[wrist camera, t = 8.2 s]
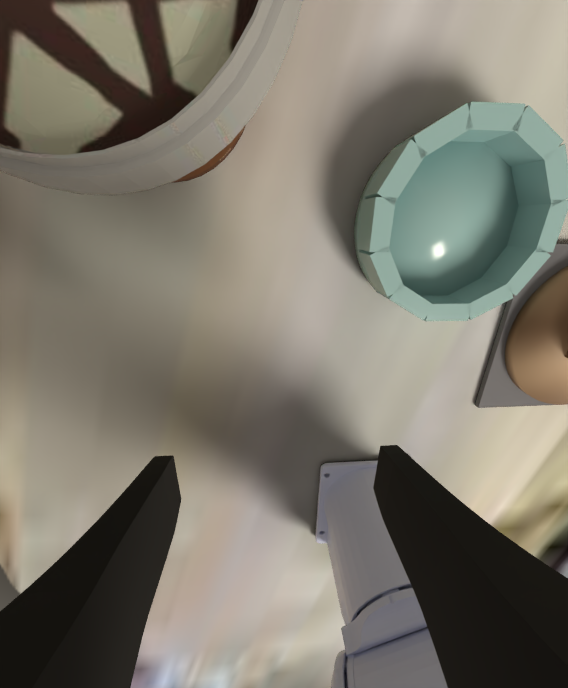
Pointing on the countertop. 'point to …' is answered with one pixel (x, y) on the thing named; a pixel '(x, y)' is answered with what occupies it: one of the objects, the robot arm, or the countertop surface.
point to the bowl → (463, 211)
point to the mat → (496, 378)
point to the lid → (541, 343)
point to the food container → (132, 87)
